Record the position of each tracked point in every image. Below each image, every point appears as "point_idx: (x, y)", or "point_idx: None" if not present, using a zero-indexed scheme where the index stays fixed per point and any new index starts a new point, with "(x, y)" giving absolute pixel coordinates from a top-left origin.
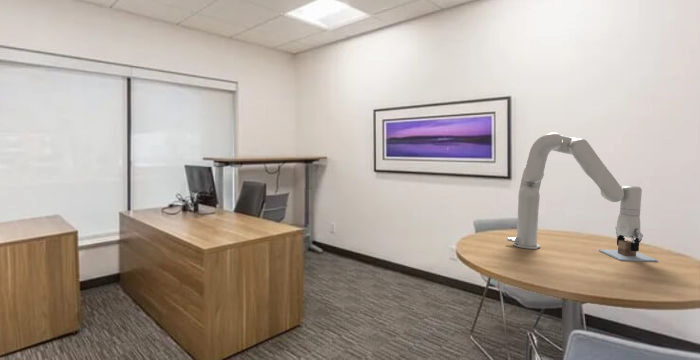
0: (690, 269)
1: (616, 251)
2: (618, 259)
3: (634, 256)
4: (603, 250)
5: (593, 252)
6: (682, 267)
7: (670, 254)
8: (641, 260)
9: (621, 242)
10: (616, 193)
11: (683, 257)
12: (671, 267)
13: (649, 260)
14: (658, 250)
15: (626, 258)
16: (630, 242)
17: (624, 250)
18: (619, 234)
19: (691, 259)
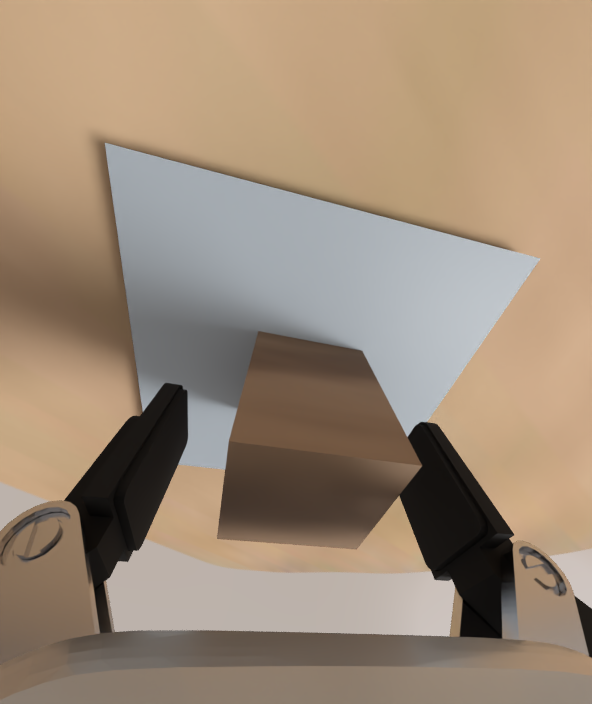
0: (37, 488)
1: (400, 375)
2: (150, 155)
3: (235, 394)
4: (484, 276)
5: (538, 129)
6: (69, 482)
7: (303, 558)
8: (141, 371)
9: (340, 443)
10: None
11: (256, 564)
12: (43, 439)
13: None
14: (365, 560)
15: (154, 265)
16: (275, 517)
17: (260, 361)
18: (494, 651)
19: (228, 566)
